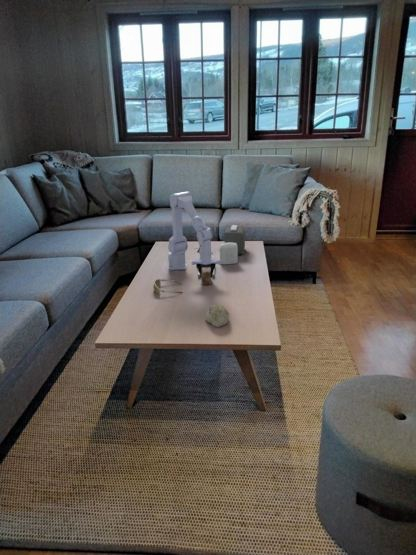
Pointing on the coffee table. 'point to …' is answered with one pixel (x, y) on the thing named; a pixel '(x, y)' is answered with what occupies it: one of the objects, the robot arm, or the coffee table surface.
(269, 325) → the coffee table surface
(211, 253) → the eiffel tower figurine
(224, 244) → the photo printer
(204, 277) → the walnut block
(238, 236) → the alarm clock
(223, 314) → the decorative item
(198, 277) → the channel
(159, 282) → the sunglasses
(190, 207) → the robot arm
